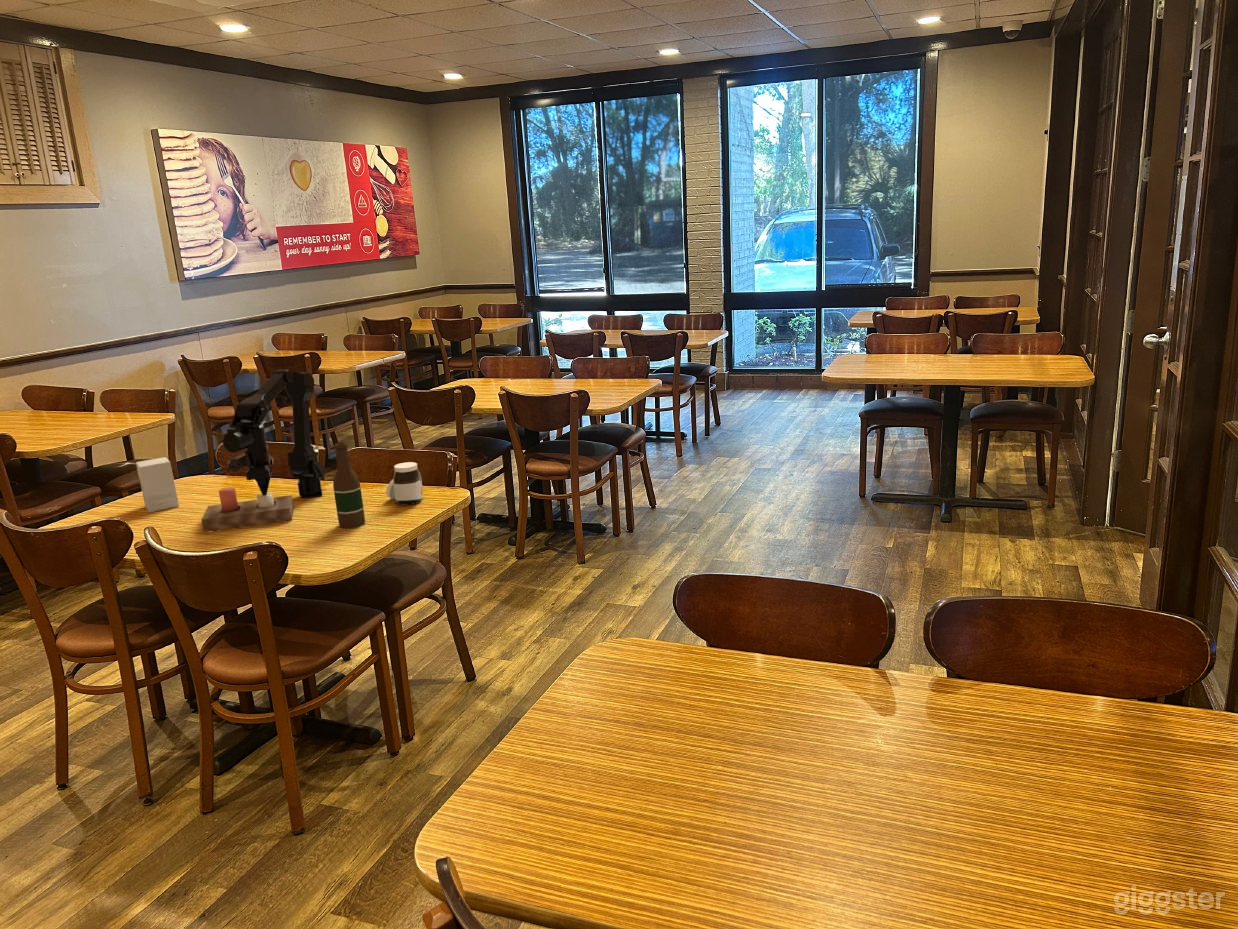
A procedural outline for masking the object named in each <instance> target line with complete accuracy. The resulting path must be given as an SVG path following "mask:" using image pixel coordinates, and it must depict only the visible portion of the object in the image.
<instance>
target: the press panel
mask: <svg viewBox="0 0 1238 929" xmlns="http://www.w3.org/2000/svg"><path fill="white" fill-rule="evenodd" d="M273 500H274V506H270V507H263V508H259V507H258V501H257V499H253V500H245V501H237V504H238V509H237V510H234V511H229V512H223V511H222V507H221V504H214V505H208V506H207V508H206V509H205V511H204V513H203V516H202V517H201V519H200V520H201V525H202V532H203V533H204V532H207V533H210V532H209V531H214V532H219V531H218V530H221V531H226V529H229V530H234V529H233V528H236V529H241V528H242V527H243V528H248V527H249V526H250V527H256V526H255V525H258V526H263V525H264V526H265V525H270V524H278V522H279V523H285V522H284V521H287V522H291V521H293V516H294V511H293V510H294V509H295V507H294V506H295V505H294V499H293V495H292V494H291V495H284V496H275V497H274V496H273ZM250 527H249V528H250Z"/></svg>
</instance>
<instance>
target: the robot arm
mask: <svg viewBox="0 0 1238 929" xmlns="http://www.w3.org/2000/svg"><path fill="white" fill-rule="evenodd" d="M284 388H285V391H286V394H287V396H288V397H289V399H290V401H291V402H292V403H291V405H292V407H291V408H292V422H293V424H292V425H293V426H292V427H293V441H294V442H293V449H292V450H291V452H290V451H289V452H288V453H287V461H288V462H287V466H288V467H289V471H290V473H291V474H292V478H293V479H298V482H297V487H298V494H299V496H300V499H308V498H309V499H310V498H316V497H322V496H323V493H322V491H324V490H323V489H322V482H321V478H323V477H324V476H325V473H326V469H325V467H324V466H323V465H322V464H321V463H320V462H318V457H317V456H318V455H317V453H316V452H315V450H314V448H313V447H312V442H311V441H312V440H311V439H312V437H311V421H310V419H311V418H310V399H311V397H312V396H313V394H314V392H315V379H314V377H313V376H312V374H311V373H310V372H296V371H292V370H289V369H276V370H274V371H273V372H272V375H271V376H270V377H269V378H268V379H267V381H265V383H264V384H262V386H261V387H260V388H259V389H257V391H256V392H255V393H254V394H253V395H250V396H249V397H246V398H244V399H243V400H241V401H240V402H239V403H237V405H236V408H235V411H234V414H233V418H232V422H231V425H230V428H227V429H226V434H225V435H224V436H223V438H222V445H223V447H224V449H225V450H226V451H227V452H229V453H231V454H234V453H237V452H240V451H243V450H244V453H241V454H240V455H237V456H234V457H233V458H230V459H229V460H227V463H226V464H227V466H228V470H230V471H231V473H233V474H234V473H236V472H237V471H239V470H241V469H243V468H245V467H246V468H247V470H246V473H245V477H246V481H253V480H255V481H256V484H257V486H258V488H259V490H260V494H262V495H267V493H268V491H269V486H270V481H271V477H272V474H273V468H269V465H270V466H274V462H275V461H274V457H273V456H271V455H270V454H269V446H268V443H267V438H266V431H265V427H267V426H269V422H267V421H265V418H266V416H267V415H268V413H269V412H270V411H269V409H270V408H269V406H270V404H271V403H272V402H273V401H274V400H275V398H276V397H277V396H278V395H279V394H281V392H282V391H283V390H284Z"/></svg>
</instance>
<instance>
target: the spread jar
mask: <svg viewBox="0 0 1238 929" xmlns="http://www.w3.org/2000/svg"><path fill="white" fill-rule="evenodd" d="M393 469H394V475H393V479H391V480H390V482H389V483H388V485H387V487H386V489H385V490H386V491H385V495H386V496H387V498H389V499H391V500H395V501H396V503H397V504H399V505H401V504H411V505H414V504H413V503H416V504H418V502H419V503H421V501H422V500H423V496H424V495H423V494H424V491H423V484H422V483H423V482H422V481H423V480H422V476H421V472H420V471H419V469H418V463H416V462H414V461H413V462H412V461H411V462H410V461H408V462H402V463H397V464H395V465H394V466H393Z"/></svg>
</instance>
